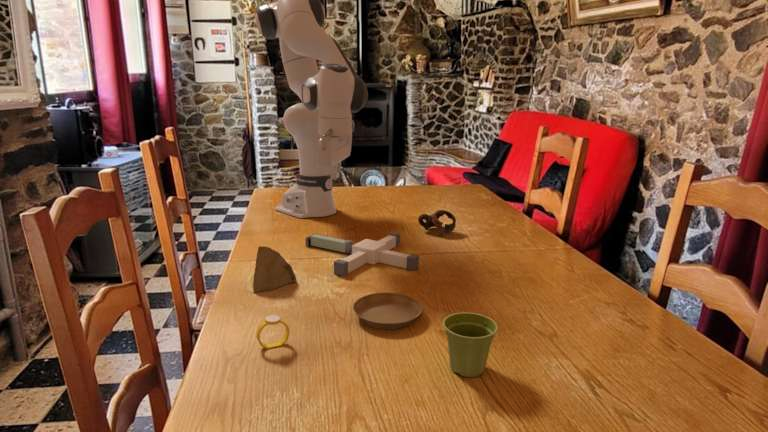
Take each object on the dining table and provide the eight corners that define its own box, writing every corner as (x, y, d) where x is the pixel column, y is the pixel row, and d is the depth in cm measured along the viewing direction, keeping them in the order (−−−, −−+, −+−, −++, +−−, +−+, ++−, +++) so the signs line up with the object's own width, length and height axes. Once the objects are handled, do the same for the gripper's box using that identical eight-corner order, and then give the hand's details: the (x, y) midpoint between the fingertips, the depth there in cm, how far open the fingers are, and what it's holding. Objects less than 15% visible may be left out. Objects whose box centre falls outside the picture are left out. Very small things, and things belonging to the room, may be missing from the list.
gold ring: (286, 341, 101) (287, 312, 100) (290, 347, 99) (291, 319, 97) (255, 345, 98) (255, 316, 97) (258, 352, 96) (259, 323, 95)
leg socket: (305, 246, 152) (305, 237, 151) (316, 241, 156) (315, 233, 156) (318, 249, 150) (317, 240, 149) (328, 244, 154) (328, 236, 153)
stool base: (321, 270, 135) (321, 256, 133) (380, 240, 158) (380, 227, 157) (387, 288, 125) (387, 272, 124) (439, 252, 148) (440, 239, 147)
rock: (299, 266, 131) (259, 261, 130) (300, 248, 124) (258, 242, 123) (293, 304, 125) (251, 300, 124) (293, 287, 118) (249, 282, 117)
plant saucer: (370, 297, 120) (370, 287, 119) (431, 309, 114) (431, 299, 114) (340, 326, 107) (340, 314, 106) (407, 341, 101) (407, 329, 101)
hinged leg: (354, 251, 148) (354, 241, 147) (350, 254, 146) (350, 243, 145) (315, 243, 154) (315, 233, 153) (310, 245, 152) (310, 235, 151)
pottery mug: (448, 228, 173) (457, 210, 167) (449, 248, 166) (459, 231, 161) (414, 219, 171) (422, 201, 166) (414, 240, 164) (422, 222, 159)
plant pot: (436, 354, 96) (438, 312, 94) (485, 353, 97) (489, 311, 95) (446, 384, 87) (448, 338, 85) (500, 382, 88) (504, 336, 86)
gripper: (335, 133, 128) (335, 188, 132) (355, 123, 147) (355, 171, 151) (311, 132, 129) (311, 186, 133) (334, 122, 148) (334, 170, 152)
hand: (334, 178), depth 142 cm, fingers closed
